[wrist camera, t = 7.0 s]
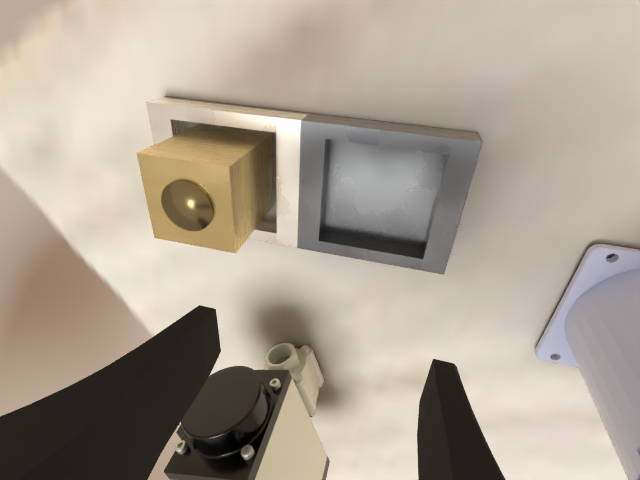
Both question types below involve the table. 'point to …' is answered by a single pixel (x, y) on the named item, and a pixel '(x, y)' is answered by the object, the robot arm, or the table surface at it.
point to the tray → (349, 180)
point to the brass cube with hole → (208, 186)
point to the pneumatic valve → (254, 423)
